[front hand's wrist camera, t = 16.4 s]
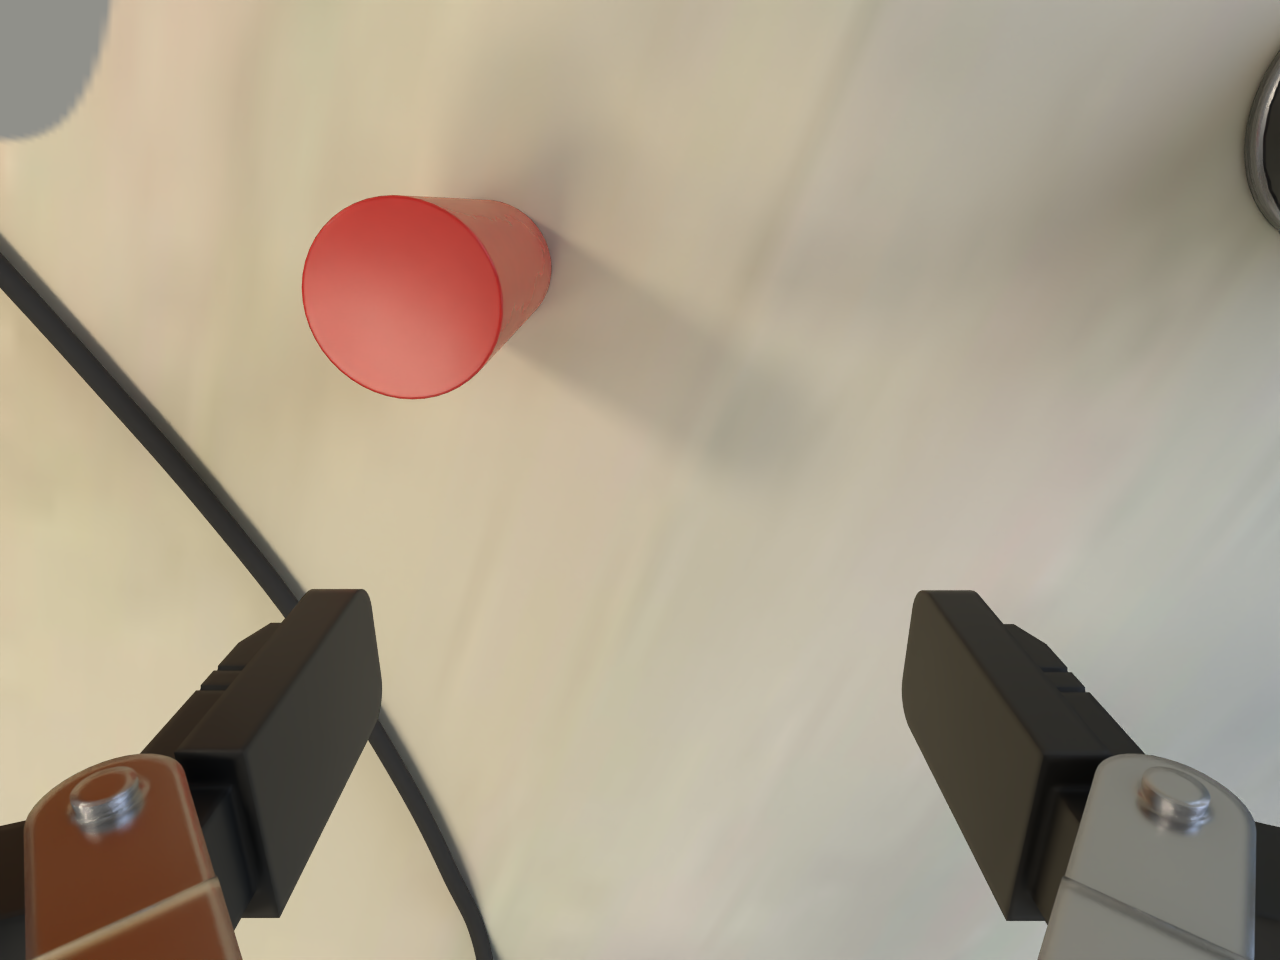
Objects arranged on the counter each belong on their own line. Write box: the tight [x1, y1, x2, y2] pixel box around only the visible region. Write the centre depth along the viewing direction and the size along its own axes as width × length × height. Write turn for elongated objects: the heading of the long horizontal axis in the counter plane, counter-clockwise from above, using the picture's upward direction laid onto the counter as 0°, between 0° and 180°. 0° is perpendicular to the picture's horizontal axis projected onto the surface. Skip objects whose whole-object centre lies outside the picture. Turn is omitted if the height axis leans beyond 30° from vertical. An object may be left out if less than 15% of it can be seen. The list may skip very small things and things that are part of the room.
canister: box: [302, 195, 551, 399], centre depth 25 cm, size 5×5×12 cm
